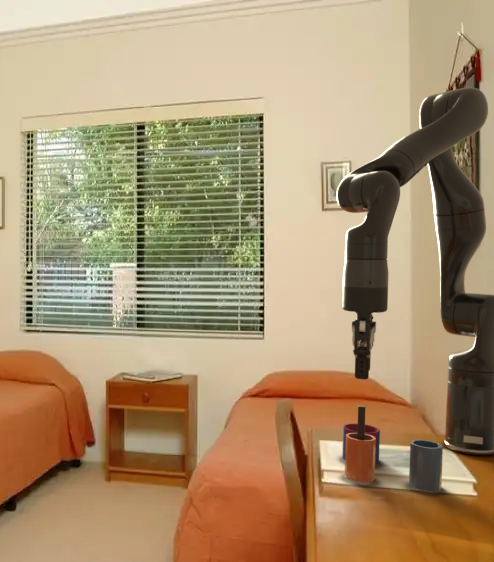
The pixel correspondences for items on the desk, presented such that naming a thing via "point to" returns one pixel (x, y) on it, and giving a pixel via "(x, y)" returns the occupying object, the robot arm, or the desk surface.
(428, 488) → the holder
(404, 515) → the desk surface
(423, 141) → the robot arm
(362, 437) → the chopstick
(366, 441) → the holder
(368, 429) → the mug
